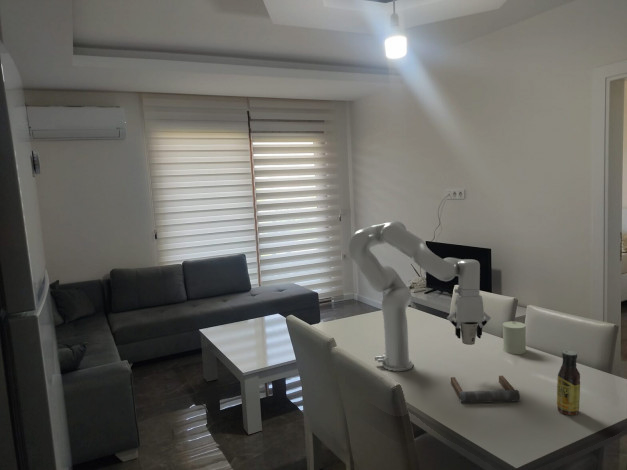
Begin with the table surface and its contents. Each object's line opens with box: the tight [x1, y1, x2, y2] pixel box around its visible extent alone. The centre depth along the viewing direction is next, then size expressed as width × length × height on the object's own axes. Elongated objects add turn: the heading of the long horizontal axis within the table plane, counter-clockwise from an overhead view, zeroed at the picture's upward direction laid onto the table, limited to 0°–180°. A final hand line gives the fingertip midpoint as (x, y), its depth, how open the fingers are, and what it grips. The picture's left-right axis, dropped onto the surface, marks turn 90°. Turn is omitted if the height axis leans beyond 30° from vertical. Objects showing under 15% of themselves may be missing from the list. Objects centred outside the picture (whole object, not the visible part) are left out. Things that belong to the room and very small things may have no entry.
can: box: [502, 320, 527, 355], centre depth 191 cm, size 9×9×12 cm
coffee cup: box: [460, 322, 478, 346], centre depth 169 cm, size 7×7×10 cm
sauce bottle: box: [556, 349, 581, 416], centre depth 139 cm, size 7×6×20 cm
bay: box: [450, 375, 521, 404], centre depth 155 cm, size 19×16×4 cm
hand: (468, 336), depth 169 cm, fingers closed on coffee cup, 7 cm apart
